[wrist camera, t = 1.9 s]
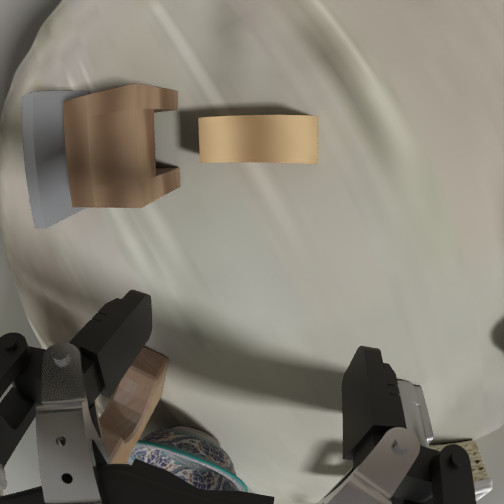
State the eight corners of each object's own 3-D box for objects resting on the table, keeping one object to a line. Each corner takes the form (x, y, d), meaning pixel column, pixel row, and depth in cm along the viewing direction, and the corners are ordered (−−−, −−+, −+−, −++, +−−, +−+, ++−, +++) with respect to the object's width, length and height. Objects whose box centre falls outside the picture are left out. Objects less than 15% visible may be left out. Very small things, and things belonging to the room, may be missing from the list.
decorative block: (137, 341, 41) (65, 442, 23) (171, 357, 41) (108, 468, 23) (132, 381, 46) (78, 468, 28) (161, 395, 46) (113, 488, 28)
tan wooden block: (317, 117, 26) (318, 115, 22) (316, 159, 27) (317, 164, 24) (212, 118, 27) (198, 117, 24) (214, 157, 29) (200, 162, 25)
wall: (88, 91, 28) (32, 91, 19) (95, 203, 33) (45, 228, 25) (76, 94, 28) (21, 96, 20) (84, 203, 34) (34, 228, 25)
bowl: (142, 443, 57) (127, 472, 49) (133, 384, 47) (109, 423, 38) (243, 476, 55) (234, 509, 47) (270, 429, 45) (261, 476, 36)
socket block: (177, 90, 26) (135, 83, 19) (180, 186, 30) (141, 207, 23) (112, 101, 27) (63, 101, 20) (117, 187, 31) (72, 207, 24)
